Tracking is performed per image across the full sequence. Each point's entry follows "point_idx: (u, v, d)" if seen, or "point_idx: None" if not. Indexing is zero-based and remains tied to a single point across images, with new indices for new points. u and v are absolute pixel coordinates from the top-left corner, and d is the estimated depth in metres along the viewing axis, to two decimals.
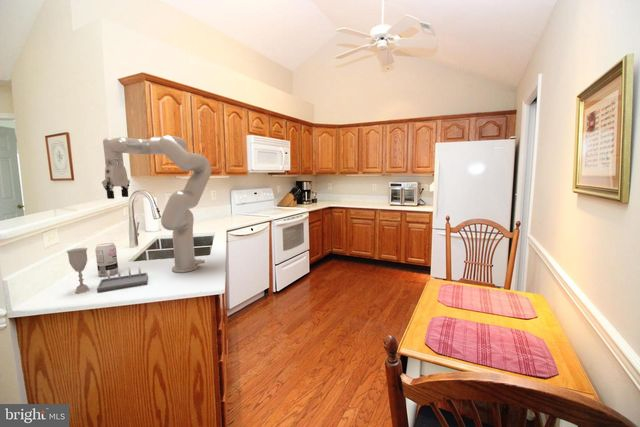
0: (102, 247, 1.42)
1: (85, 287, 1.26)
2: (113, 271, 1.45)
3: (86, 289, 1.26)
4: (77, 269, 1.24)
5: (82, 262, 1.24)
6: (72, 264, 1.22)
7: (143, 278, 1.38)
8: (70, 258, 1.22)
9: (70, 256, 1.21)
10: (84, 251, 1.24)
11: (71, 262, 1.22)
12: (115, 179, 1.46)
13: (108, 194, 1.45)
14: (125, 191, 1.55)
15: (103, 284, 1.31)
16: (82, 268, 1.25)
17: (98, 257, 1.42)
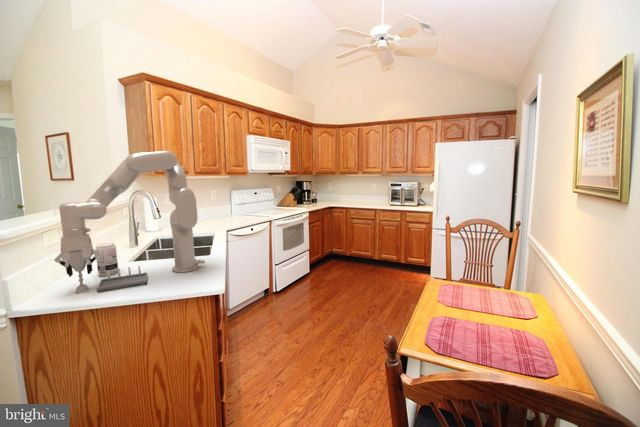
0: (102, 247, 1.42)
1: (85, 287, 1.26)
2: (113, 271, 1.45)
3: (86, 289, 1.26)
4: (77, 269, 1.24)
5: (82, 262, 1.24)
6: (72, 264, 1.22)
7: (143, 278, 1.38)
8: (70, 258, 1.22)
9: (70, 256, 1.21)
10: None
11: (71, 262, 1.22)
12: None
13: (91, 268, 1.27)
14: (71, 268, 1.25)
15: (103, 284, 1.31)
16: (82, 268, 1.25)
17: (98, 257, 1.42)
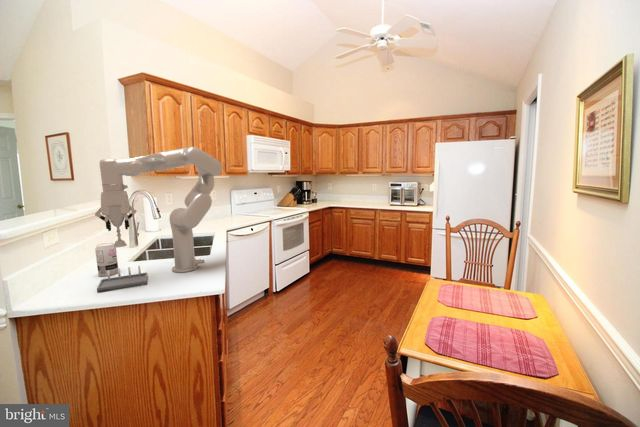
0: (102, 247, 1.42)
1: (123, 242, 1.31)
2: (113, 271, 1.45)
3: (124, 244, 1.31)
4: (116, 224, 1.28)
5: (121, 217, 1.28)
6: (111, 218, 1.27)
7: (143, 278, 1.38)
8: (110, 212, 1.26)
9: (110, 210, 1.26)
10: None
11: (110, 216, 1.26)
12: None
13: (128, 224, 1.32)
14: (110, 223, 1.29)
15: (103, 284, 1.31)
16: (120, 223, 1.29)
17: (98, 257, 1.42)
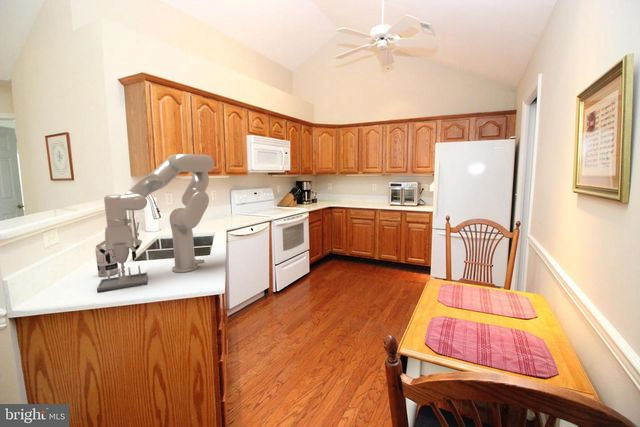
0: (102, 247, 1.42)
1: (127, 278, 1.33)
2: (113, 271, 1.45)
3: (128, 280, 1.33)
4: (120, 261, 1.31)
5: (125, 254, 1.31)
6: (116, 256, 1.29)
7: (143, 278, 1.38)
8: (114, 250, 1.29)
9: (115, 248, 1.28)
10: None
11: (115, 254, 1.29)
12: None
13: (135, 255, 1.34)
14: (109, 256, 1.31)
15: (103, 284, 1.31)
16: (125, 260, 1.32)
17: (98, 257, 1.42)
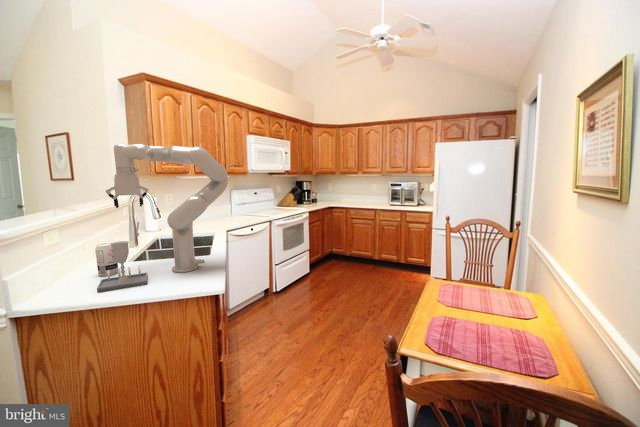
0: (102, 247, 1.42)
1: (127, 278, 1.33)
2: (113, 271, 1.45)
3: (128, 280, 1.33)
4: (120, 261, 1.31)
5: (125, 254, 1.31)
6: (116, 256, 1.29)
7: (143, 278, 1.38)
8: (114, 250, 1.29)
9: (114, 249, 1.28)
10: (126, 244, 1.31)
11: (115, 254, 1.29)
12: None
13: None
14: (117, 201, 1.41)
15: (103, 284, 1.31)
16: (124, 260, 1.32)
17: (98, 257, 1.42)
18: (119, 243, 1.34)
